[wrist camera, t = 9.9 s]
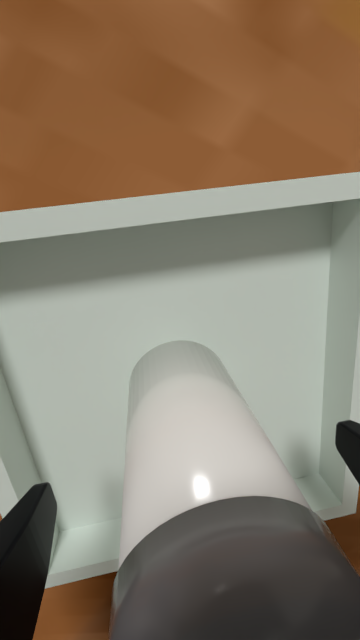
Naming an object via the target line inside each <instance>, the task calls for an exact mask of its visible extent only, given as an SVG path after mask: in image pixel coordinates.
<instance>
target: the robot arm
mask: <svg viewBox="0 0 360 640" xmlns="http://www.w3.org/2000/svg"><path fill="white" fill-rule="evenodd" d="M335 445H336V448H337V450H338V452H339V454H340V455H341V457H342V458H343V460H344V462H345V463H346V465H347V466H348V468H349V470H350V471H351V473H352V474H353V476H354V478H355V479H356V481H357V482H358V484H359V486H360V424H359V423H357V422H354V421H352V420H345V421H340V422H338V423H337V424H336V435H335ZM56 515H57V502H56V499H55V496H54V493H53V490H52V487H51V485H50V483H49V482H44V483H39V484H35V485H33V486H32V487H31V488H30V489H29V490H28V491H27V492H26V494H25V495H24V496H23V497H22V498H21V499H20V500H19V501H18V502H17V504H16V505H15V506H14V507H13V508H12V509H11V510H10V511H9V512H8V513H7V515H6V516H5V517H4V518H3V519H2V520H1V521H0V640H32V639H33V635H34V631H35V626H36V622H37V618H38V614H39V610H40V605H41V601H42V597H43V593H44V589H45V584H46V580H47V575H48V570H49V564H50V557H51V550H52V543H53V536H54V529H55V522H56Z"/></svg>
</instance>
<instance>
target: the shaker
mask: <svg viewBox="0 0 360 640" xmlns="http://www.w3.org/2000/svg"><path fill="white" fill-rule="evenodd" d="M109 640H360V577H359V575H358V573H357V572H356V570H355V569H354V567H353V566H352V564H351V562H350V561H349V559H348V558H347V556H346V554H345V553H344V551H343V550H342V548H341V546H340V545H339V543H338V542H337V540H336V538H335V537H334V535H333V534H332V532H331V531H330V529H329V528H328V526H327V525H326V523H325V522H324V521H323V520H322V519H321V518H320V517H319V516H318V515H317V514H316V513H314V512H313V511H312V509H311V507H310V506H309V504H308V503H307V501H306V499H305V498H304V496H303V494H302V493H301V491H300V489H299V488H298V486H297V484H296V483H295V481H294V480H293V478H292V476H291V475H290V473H289V471H288V470H287V468H286V466H285V465H284V463H283V462H282V460H281V458H280V457H279V455H278V453H277V452H276V450H275V448H274V447H273V445H272V443H271V442H270V440H269V439H268V437H267V435H266V434H265V432H264V430H263V429H262V427H261V425H260V424H259V422H258V420H257V419H256V417H255V416H254V414H253V412H252V411H251V409H250V407H249V406H248V404H247V402H246V401H245V399H244V398H243V396H242V394H241V393H240V391H239V389H238V388H237V386H236V384H235V383H234V381H233V379H232V378H231V376H230V375H229V373H228V371H227V370H226V368H225V366H224V365H223V363H222V361H221V360H220V358H219V357H218V356H217V355H216V354H215V353H214V352H213V351H212V350H211V349H209V348H208V347H206V346H204V345H202V344H200V343H197V342H193V341H186V340H178V341H171V342H166V343H163V344H160V345H158V346H156V347H154V348H153V349H151V350H150V351H148V352H147V353H146V354H144V355H143V356H142V357H141V359H140V360H139V361H138V362H137V364H136V365H135V367H134V369H133V371H132V373H131V376H130V381H129V395H128V412H127V430H126V448H125V465H124V483H123V501H122V518H121V536H120V554H119V570H118V572H117V575H116V577H115V580H114V584H113V589H112V598H111V612H110V626H109Z"/></svg>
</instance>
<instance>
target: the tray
mask: <svg viewBox="0 0 360 640" xmlns="http://www.w3.org/2000/svg"><path fill="white" fill-rule="evenodd" d="M178 340H186V341H193V342H197V343H200V344H202V345H204V346H206V347H208V348H209V349H211V350H212V351H213V352H214V353H215V354H216V355H217V356H218V357H219V358H220V360H221V361H222V363H223V365H224V366H225V368H226V370H227V371H228V373H229V375H230V376H231V378H232V379H233V381H234V383H235V384H236V386H237V388H238V389H239V391H240V393H241V394H242V396H243V398H244V399H245V401H246V402H247V404H248V406H249V407H250V409H251V411H252V412H253V414H254V416H255V417H256V419H257V420H258V422H259V424H260V425H261V427H262V429H263V430H264V432H265V434H266V435H267V437H268V439H269V440H270V442H271V443H272V445H273V447H274V448H275V450H276V452H277V453H278V455H279V457H280V458H281V460H282V462H283V463H284V465H285V466H286V468H287V470H288V471H289V473H290V475H291V476H292V478H293V480H294V481H295V483H296V484H297V486H298V488H299V489H300V491H301V493H302V494H303V496H304V498H305V499H306V501H307V503H308V504H309V506H310V507H311V509H312V511H313V512H314V513H316V514H317V515H318V516H319V517H320V518H321V519H322V520H323V521H325V520H329V519H333V518H338V517H342V516H346V515H350V514H354V513H356V507H357V499H358V490H359V484H358V482H357V481H356V479H355V478H354V476H353V474H352V473H351V471H350V470H349V468H348V466H347V465H346V463H345V462H344V460H343V458H342V457H341V455H340V454H339V452H338V450H337V448H336V445H335V435H336V424H337V423H338V422H340V421H345V420H352V421H354V422H357V423H359V424H360V172H354V173H345V174H337V175H328V176H319V177H310V178H301V179H292V180H283V181H274V182H266V183H257V184H248V185H239V186H230V187H221V188H212V189H203V190H194V191H186V192H177V193H168V194H159V195H150V196H141V197H132V198H123V199H115V200H106V201H97V202H88V203H79V204H70V205H61V206H52V207H44V208H35V209H26V210H17V211H8V212H0V513H1V516H2V518H4V517H5V516H6V515H7V513H8V512H9V511H10V510H11V509H12V508H13V507H14V506H15V505H16V504H17V502H18V501H19V500H20V499H21V498H22V497H23V496H24V495H25V494H26V492H27V491H28V490H29V489H30V488H31V487H32V486H33V485H35V484H39V483H44V482H49V483H50V485H51V487H52V490H53V493H54V496H55V499H56V502H57V515H56V522H55V529H54V536H53V543H52V550H51V557H50V564H49V570H48V575H47V580H46V584H45V588H49V587H53V586H57V585H62V584H66V583H70V582H74V581H78V580H82V579H86V578H90V577H94V576H99V575H103V574H107V573H111V572H115V571H118V570H119V554H120V536H121V518H122V501H123V483H124V465H125V448H126V430H127V412H128V395H129V381H130V376H131V373H132V371H133V369H134V367H135V365H136V364H137V362H138V361H139V360H140V359H141V357H142V356H143V355H144V354H146V353H147V352H148V351H150V350H151V349H153V348H154V347H156V346H158V345H160V344H163V343H166V342H171V341H178Z"/></svg>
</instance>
